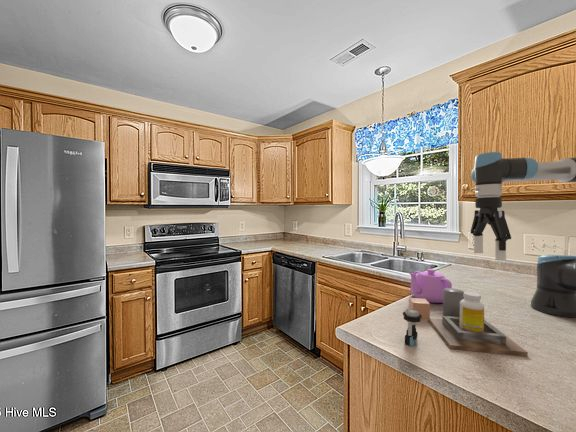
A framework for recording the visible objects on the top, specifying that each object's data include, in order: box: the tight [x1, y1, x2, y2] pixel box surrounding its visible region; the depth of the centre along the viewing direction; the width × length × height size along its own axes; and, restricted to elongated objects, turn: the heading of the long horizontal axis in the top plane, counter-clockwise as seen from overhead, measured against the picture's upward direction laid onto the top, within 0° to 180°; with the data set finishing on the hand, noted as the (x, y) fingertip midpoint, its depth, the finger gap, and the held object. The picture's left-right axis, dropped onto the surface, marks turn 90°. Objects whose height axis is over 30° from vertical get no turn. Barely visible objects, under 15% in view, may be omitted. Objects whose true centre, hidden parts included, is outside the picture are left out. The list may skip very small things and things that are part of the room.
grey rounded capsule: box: [442, 288, 465, 317], centre depth 103 cm, size 7×7×10 cm
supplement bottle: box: [459, 291, 485, 333], centre depth 87 cm, size 7×7×13 cm
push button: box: [402, 308, 422, 347], centre depth 83 cm, size 7×5×10 cm
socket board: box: [428, 315, 529, 357], centre depth 87 cm, size 20×20×4 cm
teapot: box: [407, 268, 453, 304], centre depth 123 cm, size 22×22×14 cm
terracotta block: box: [408, 297, 431, 320], centre depth 104 cm, size 6×6×6 cm
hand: (488, 256), depth 95 cm, fingers open, 13 cm apart
